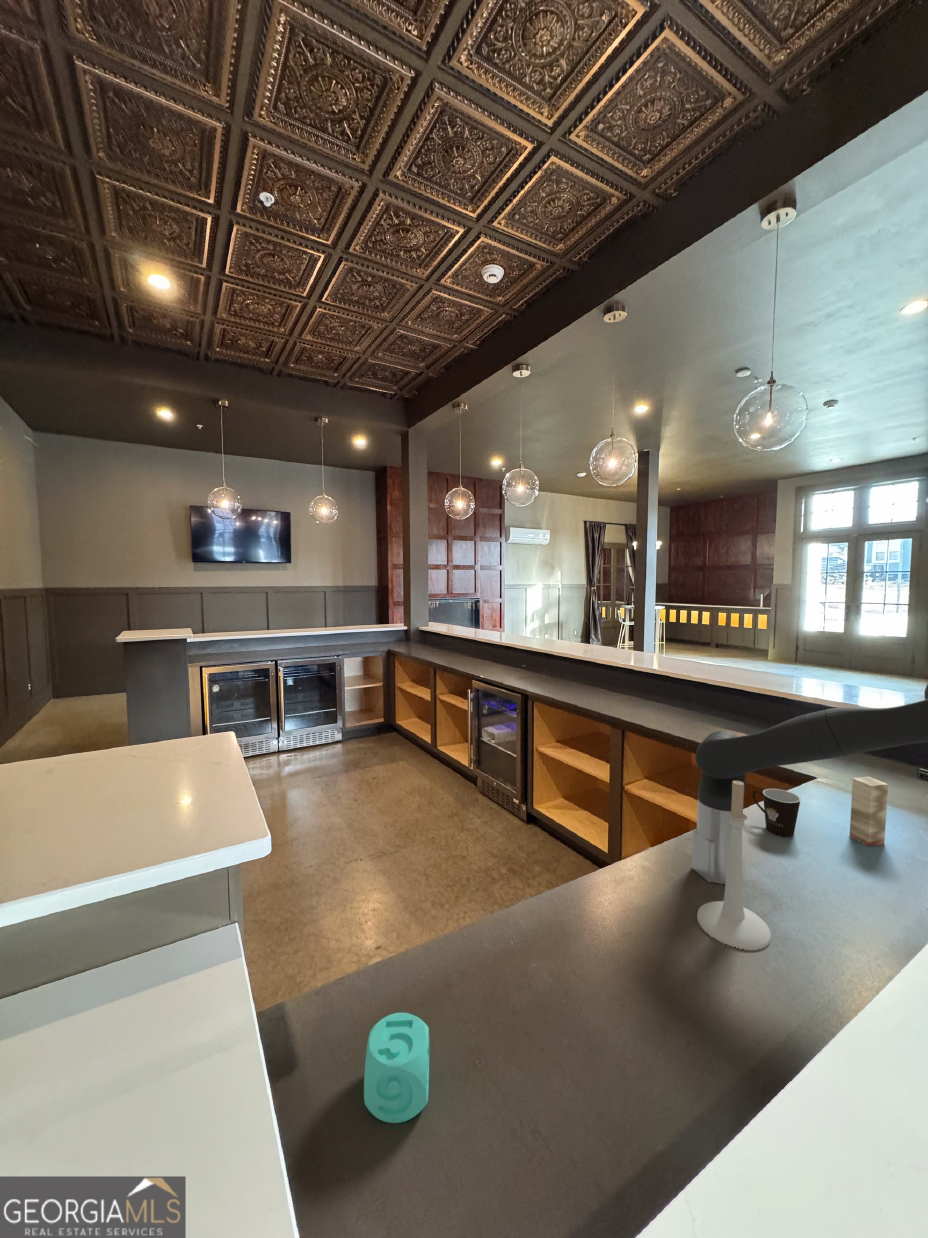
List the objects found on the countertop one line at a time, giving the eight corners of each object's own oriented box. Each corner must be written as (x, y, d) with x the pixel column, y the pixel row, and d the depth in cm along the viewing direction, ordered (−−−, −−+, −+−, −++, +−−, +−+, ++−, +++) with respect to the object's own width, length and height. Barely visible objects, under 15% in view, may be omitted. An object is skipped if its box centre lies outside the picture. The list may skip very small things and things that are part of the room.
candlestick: (782, 955, 89) (789, 797, 87) (707, 945, 92) (712, 791, 90) (755, 909, 102) (761, 769, 99) (690, 901, 104) (694, 765, 102)
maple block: (868, 846, 125) (871, 786, 124) (849, 836, 130) (852, 778, 128) (884, 844, 126) (888, 784, 124) (865, 834, 131) (868, 776, 129)
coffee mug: (806, 839, 128) (808, 802, 128) (773, 839, 129) (775, 802, 128) (779, 817, 140) (780, 784, 139) (748, 817, 140) (750, 784, 139)
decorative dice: (429, 1061, 70) (428, 1010, 70) (427, 1123, 62) (426, 1066, 62) (373, 1064, 70) (372, 1012, 69) (364, 1126, 62) (362, 1068, 61)
